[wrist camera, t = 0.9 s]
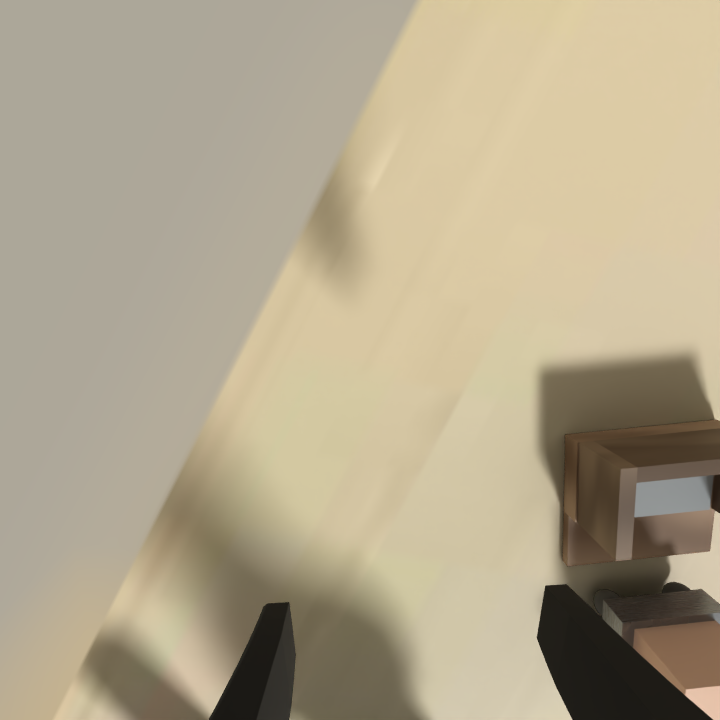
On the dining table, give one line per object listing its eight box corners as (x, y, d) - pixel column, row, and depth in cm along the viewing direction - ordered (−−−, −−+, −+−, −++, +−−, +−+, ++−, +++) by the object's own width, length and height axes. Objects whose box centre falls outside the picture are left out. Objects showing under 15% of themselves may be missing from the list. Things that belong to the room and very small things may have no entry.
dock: (701, 545, 22) (780, 601, 18) (562, 560, 22) (610, 619, 18) (715, 419, 20) (805, 450, 16) (565, 434, 20) (618, 469, 16)
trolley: (671, 673, 24) (783, 805, 17) (584, 682, 23) (666, 818, 17) (681, 572, 22) (808, 678, 16) (588, 581, 22) (680, 692, 16)
